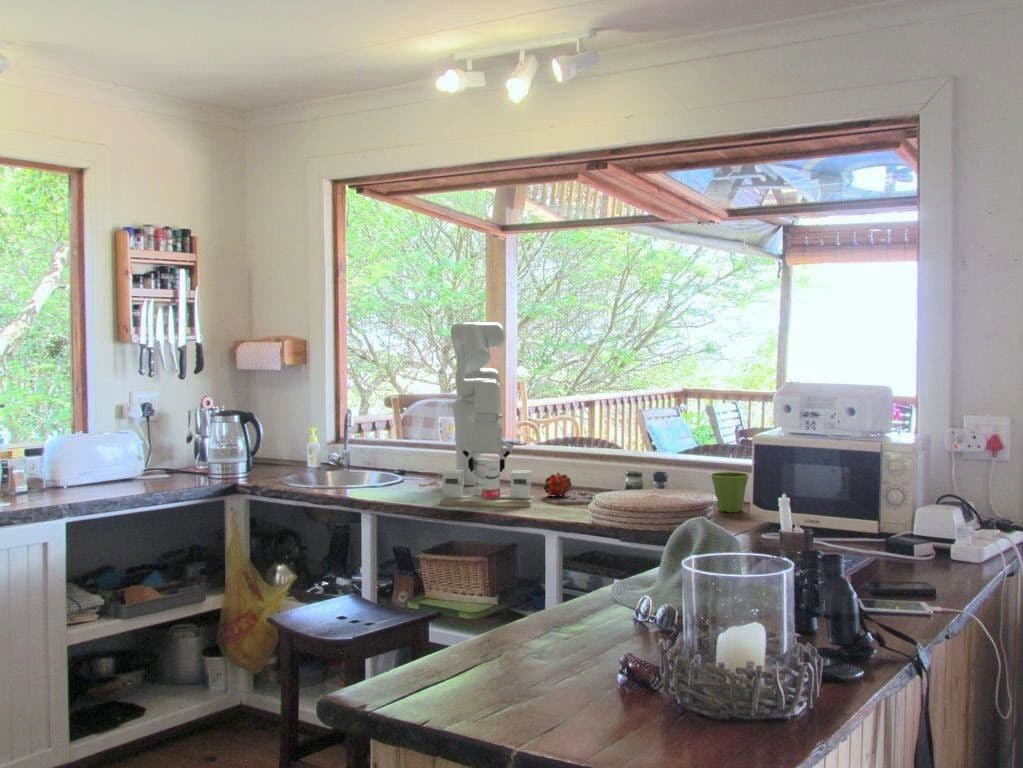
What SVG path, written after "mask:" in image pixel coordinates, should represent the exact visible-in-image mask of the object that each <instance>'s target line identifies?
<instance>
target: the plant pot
mask: <svg viewBox="0 0 1023 768" xmlns="http://www.w3.org/2000/svg"><path fill="white" fill-rule="evenodd" d="M709 475H710V476H711V480H712V484H713V487H714V492H715V498H716V497H717V499H718V501H717V500H716V504H717V510H718V511H720V512H726V513H739V512H742V511H743V507H744V502H745V495H746V494H745V493H746V489H747V484H748V479H749V477H750V473H746V472H740V471H739V472H738V471H737V472H736V471H723V472H714V473H710V474H709Z"/></svg>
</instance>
